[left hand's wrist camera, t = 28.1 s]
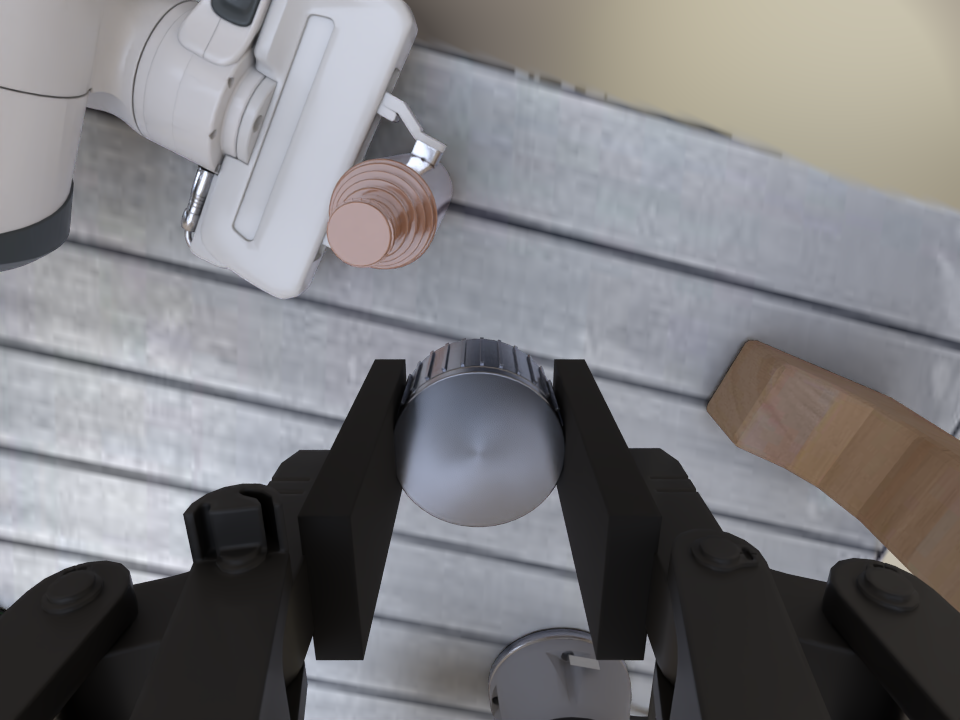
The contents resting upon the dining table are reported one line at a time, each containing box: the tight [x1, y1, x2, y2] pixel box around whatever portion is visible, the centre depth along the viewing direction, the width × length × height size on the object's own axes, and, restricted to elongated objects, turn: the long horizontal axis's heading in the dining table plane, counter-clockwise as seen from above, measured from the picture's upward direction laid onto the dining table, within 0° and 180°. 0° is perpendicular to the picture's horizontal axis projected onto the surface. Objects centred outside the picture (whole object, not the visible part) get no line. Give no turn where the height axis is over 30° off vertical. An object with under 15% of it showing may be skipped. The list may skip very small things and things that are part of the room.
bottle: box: [326, 153, 452, 269], centre depth 34 cm, size 6×6×23 cm
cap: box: [393, 338, 565, 527], centre depth 14 cm, size 4×4×2 cm
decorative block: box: [707, 340, 960, 613], centre depth 37 cm, size 8×15×30 cm, turn 67°
